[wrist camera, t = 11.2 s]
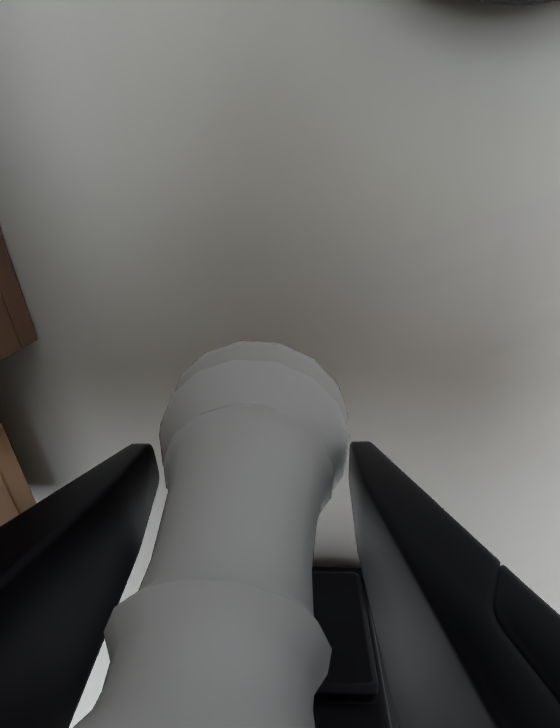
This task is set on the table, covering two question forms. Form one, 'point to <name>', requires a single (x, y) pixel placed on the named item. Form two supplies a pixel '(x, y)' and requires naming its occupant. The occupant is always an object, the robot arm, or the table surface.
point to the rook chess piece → (232, 551)
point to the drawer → (12, 483)
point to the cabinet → (12, 310)
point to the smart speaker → (516, 2)
